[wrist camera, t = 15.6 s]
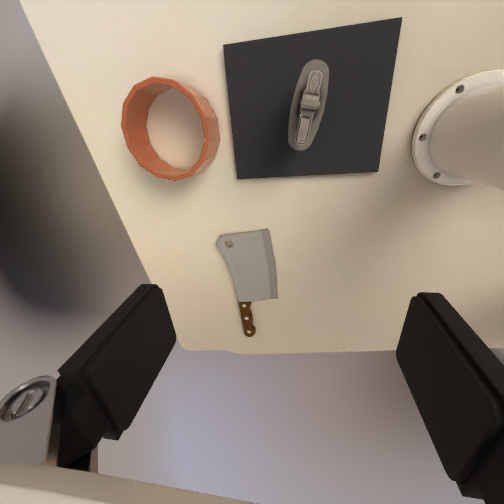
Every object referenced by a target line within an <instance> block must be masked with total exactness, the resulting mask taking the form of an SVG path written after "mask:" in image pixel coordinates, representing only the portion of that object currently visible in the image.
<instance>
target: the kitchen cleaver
mask: <svg viewBox="0 0 504 504" xmlns="http://www.w3.org/2000/svg"><path fill="white" fill-rule="evenodd" d="M226 241H231V242H232V243H233V245H232V246H229V245H227V244H226ZM216 245H217V247H218V248H219V250H220V251H221V253H222V254H223V255H224V258H225V260H226V262H227V264H228V266H229V268H230V271H231V274H232V277H233V280H234V283H235V288H236V292H237V297H238V301H239V307H240V313H241V318H242V323H243V328H244V334H245V335H246V336H247V337H252V336H253V335H254V334H255V327H254V326H253V325H252V313H251V311H250V305H251V303H250V302H251V301H258V300H265V299H274V298H278V297H277V281H276V268H275V260H274V254H273V249H272V243H271V238H270V233H269V230H268V229H263V230H257V231H249V232H241V233H233V234H225V235H220V237H219V239H218V241H217V244H216Z"/></svg>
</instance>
